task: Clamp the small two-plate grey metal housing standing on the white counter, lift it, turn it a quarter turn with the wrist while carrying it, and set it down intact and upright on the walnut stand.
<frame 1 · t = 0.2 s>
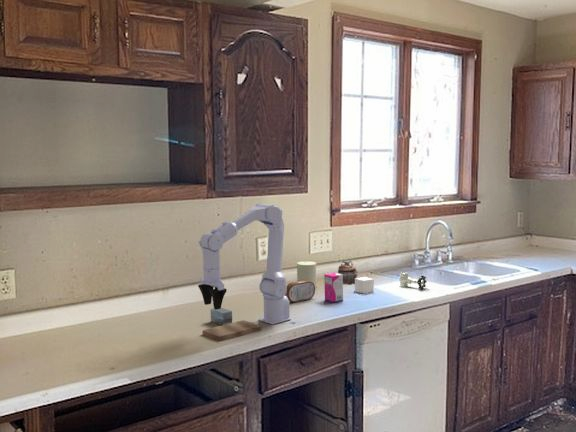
hand: (212, 306, 202), 10 cm above the worktop, fingers open, 7 cm apart
valve: (411, 288, 272), on the worktop
stand: (232, 332, 205), on the worktop
housing: (221, 323, 217), on the worktop
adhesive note: (364, 292, 264), on the worktop
cupcake: (347, 282, 285), on the worktop
can: (306, 287, 274), on the worktop
tin: (300, 301, 249), on the worktop
supplement box: (333, 301, 248), on the worktop
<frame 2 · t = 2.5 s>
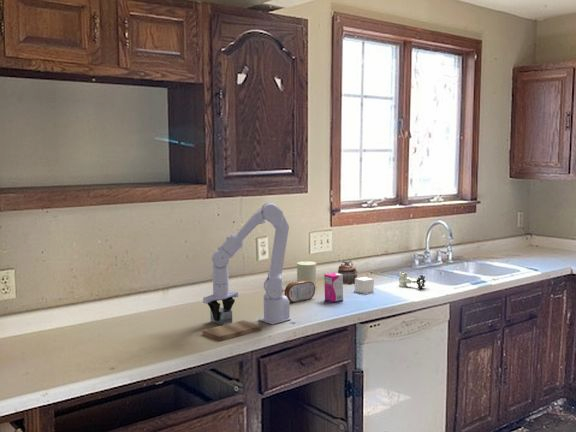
hand: (221, 319, 217), 1 cm above the worktop, fingers closed on housing, 4 cm apart
housing: (221, 322, 217), on the worktop, touching gripper
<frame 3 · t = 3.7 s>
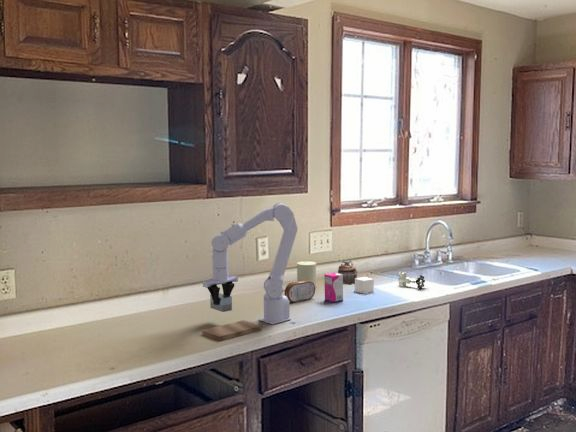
hand: (221, 303, 216), 7 cm above the worktop, fingers closed on housing, 4 cm apart
housing: (221, 309, 216), point 5 cm above the worktop, touching gripper
everything else where it was.
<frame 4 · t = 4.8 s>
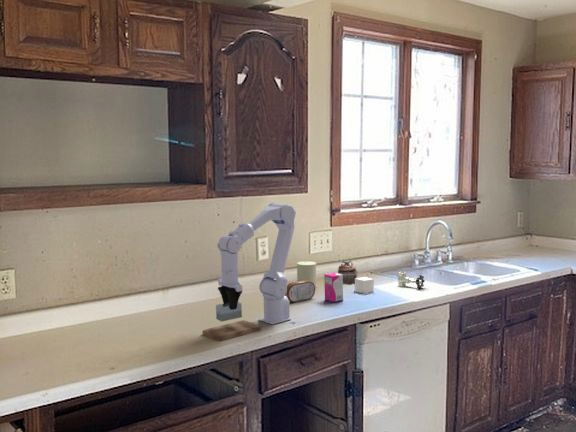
hand: (230, 307, 206), 8 cm above the worktop, fingers closed on housing, 4 cm apart
housing: (229, 318, 206), point 5 cm above the worktop, touching gripper
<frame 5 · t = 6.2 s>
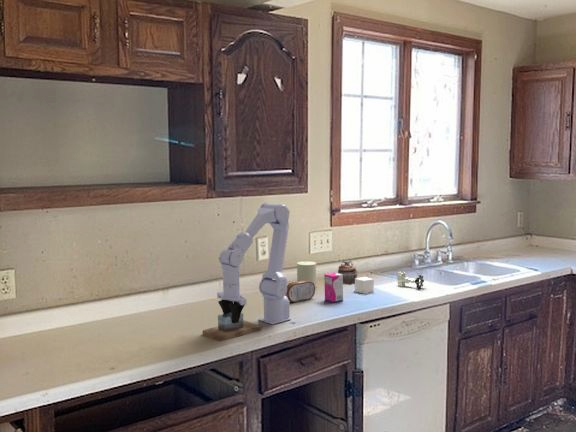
hand: (231, 321, 205), 4 cm above the worktop, fingers closed on housing, 4 cm apart
housing: (230, 328, 205), point 1 cm above the worktop, touching gripper, stand
when the fingers open (4 cm above the worktop, at t = 6.6 s): housing stays where it is, resting on stand.
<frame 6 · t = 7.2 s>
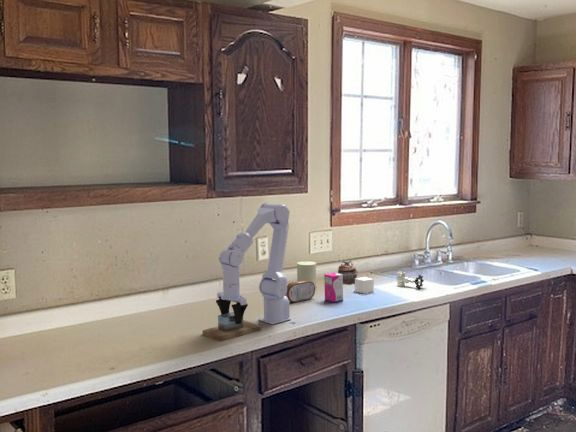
hand: (231, 321, 205), 4 cm above the worktop, fingers open, 7 cm apart
housing: (230, 328, 205), point 1 cm above the worktop, touching stand
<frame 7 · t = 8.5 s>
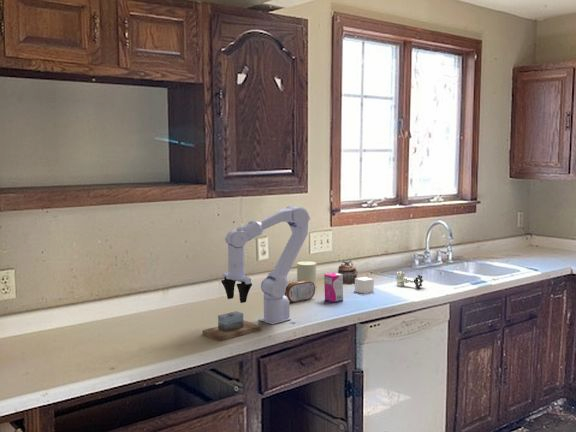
hand: (236, 300, 212), 9 cm above the worktop, fingers open, 7 cm apart
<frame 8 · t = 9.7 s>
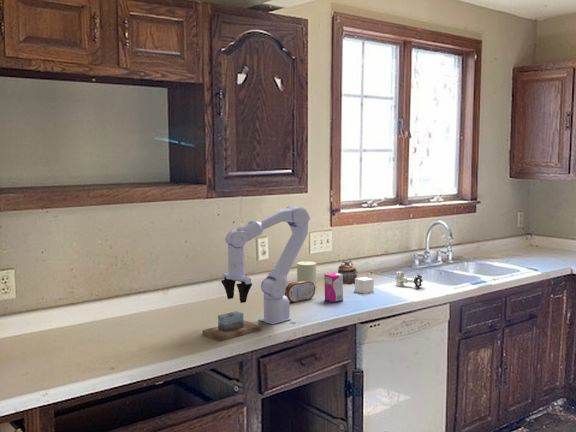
hand: (236, 300, 212), 9 cm above the worktop, fingers open, 7 cm apart
at the end: housing 0.5 cm off-centre on the stand, point 1.5 cm above the stand's base; housing tilted 0°; the gripper is holding nothing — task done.
